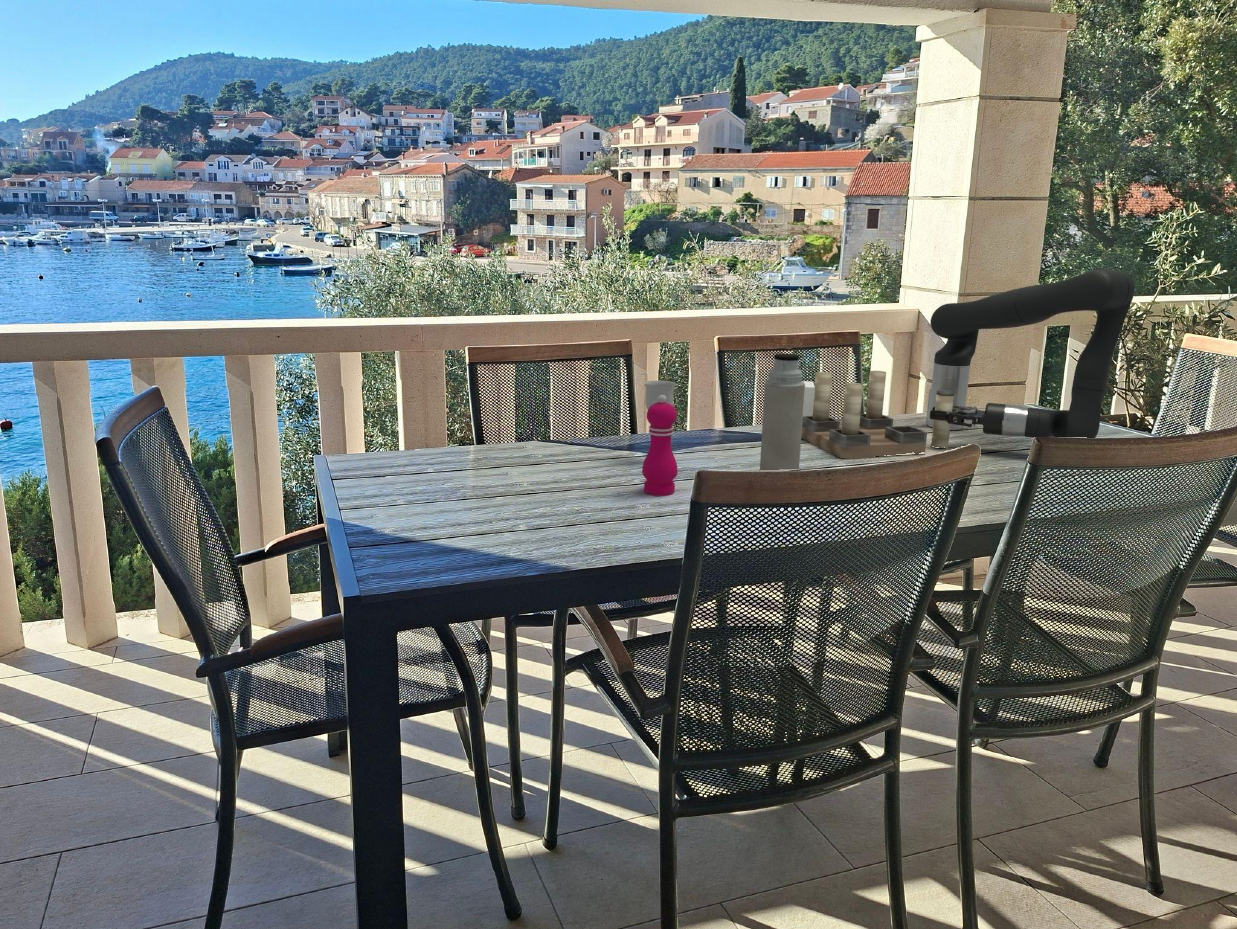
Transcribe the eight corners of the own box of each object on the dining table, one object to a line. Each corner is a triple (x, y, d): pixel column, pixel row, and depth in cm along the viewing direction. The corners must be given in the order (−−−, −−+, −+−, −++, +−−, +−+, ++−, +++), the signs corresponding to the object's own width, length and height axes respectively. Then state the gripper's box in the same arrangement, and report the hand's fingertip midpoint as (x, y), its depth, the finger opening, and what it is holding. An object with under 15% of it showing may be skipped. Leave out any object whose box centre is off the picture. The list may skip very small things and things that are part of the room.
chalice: (677, 459, 218) (680, 382, 214) (666, 466, 212) (669, 387, 208) (648, 455, 221) (650, 379, 217) (636, 462, 215) (638, 384, 211)
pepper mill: (663, 498, 189) (667, 399, 183) (634, 491, 193) (636, 395, 188) (683, 490, 194) (687, 394, 189) (654, 484, 198) (657, 390, 193)
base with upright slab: (787, 424, 257) (790, 380, 254) (821, 426, 256) (824, 382, 253) (788, 431, 248) (791, 386, 245) (823, 433, 247) (826, 388, 244)
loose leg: (927, 445, 236) (933, 390, 233) (941, 444, 237) (947, 389, 234) (937, 449, 233) (943, 393, 229) (951, 448, 234) (957, 392, 230)
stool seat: (800, 437, 242) (804, 371, 238) (877, 433, 248) (883, 369, 243) (842, 459, 222) (848, 387, 217) (924, 454, 227) (932, 384, 223)
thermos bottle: (768, 480, 203) (776, 350, 195) (803, 487, 199) (813, 353, 191) (752, 489, 196) (760, 354, 189) (788, 496, 192) (797, 358, 185)
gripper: (1009, 399, 232) (936, 392, 239) (1006, 410, 220) (929, 402, 227) (1005, 429, 234) (932, 422, 241) (1001, 441, 222) (925, 433, 229)
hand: (931, 412), depth 234 cm, fingers closed on loose leg, 4 cm apart
